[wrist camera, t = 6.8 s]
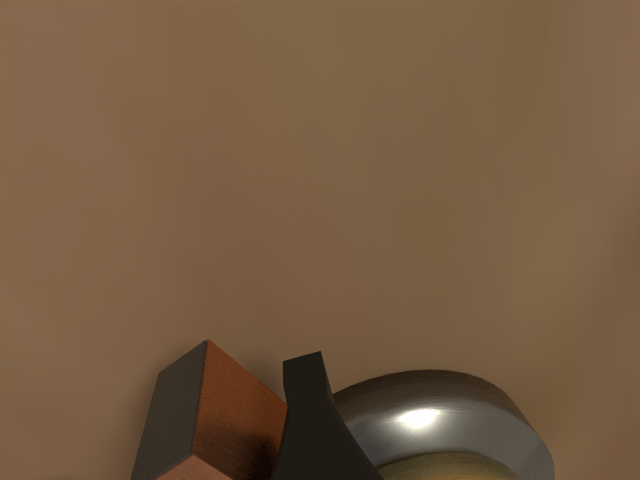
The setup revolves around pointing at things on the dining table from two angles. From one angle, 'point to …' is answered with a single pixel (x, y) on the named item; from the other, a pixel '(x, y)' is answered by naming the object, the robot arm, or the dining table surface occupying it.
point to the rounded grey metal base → (441, 421)
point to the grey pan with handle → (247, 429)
